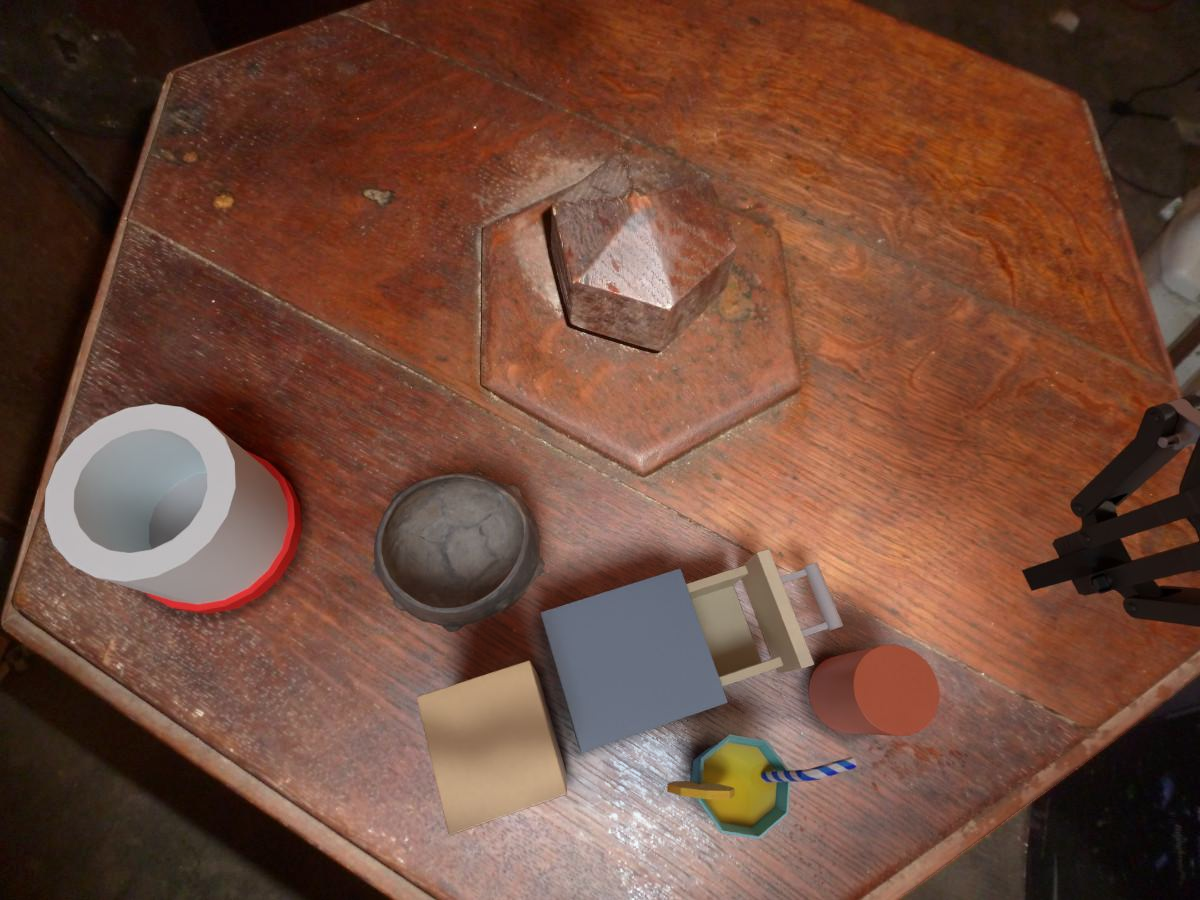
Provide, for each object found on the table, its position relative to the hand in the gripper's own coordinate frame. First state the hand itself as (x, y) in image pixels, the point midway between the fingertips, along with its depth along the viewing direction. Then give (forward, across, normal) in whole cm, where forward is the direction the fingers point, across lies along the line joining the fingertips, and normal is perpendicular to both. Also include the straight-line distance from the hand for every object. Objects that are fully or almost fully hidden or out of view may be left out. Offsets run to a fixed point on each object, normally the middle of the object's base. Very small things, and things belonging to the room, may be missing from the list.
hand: (1043, 574), depth 53 cm
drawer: (+24, +4, +16) cm, 29 cm away
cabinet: (+24, +4, +27) cm, 37 cm away
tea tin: (+24, -5, +8) cm, 26 cm away
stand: (+24, +1, +39) cm, 46 cm away
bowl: (+25, +18, +39) cm, 50 cm away
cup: (+25, -8, +21) cm, 33 cm away
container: (+25, +28, +61) cm, 71 cm away
